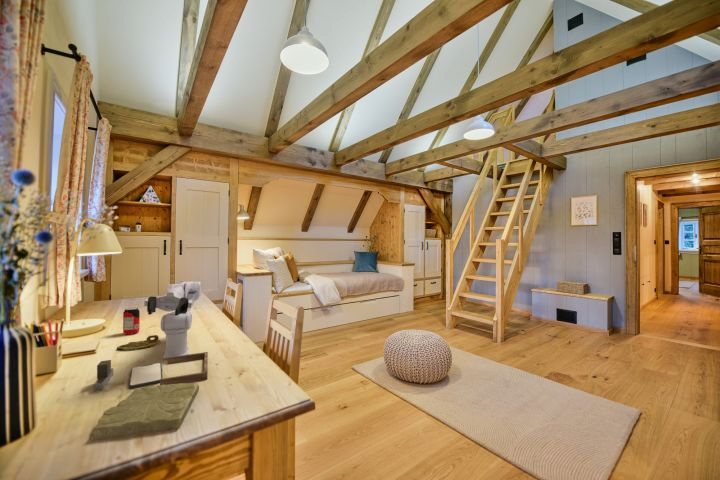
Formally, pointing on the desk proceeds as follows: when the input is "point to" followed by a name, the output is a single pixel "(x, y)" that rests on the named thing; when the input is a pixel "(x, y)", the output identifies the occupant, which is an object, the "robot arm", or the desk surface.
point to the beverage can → (131, 321)
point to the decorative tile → (147, 411)
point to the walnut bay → (191, 376)
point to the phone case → (145, 375)
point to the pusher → (103, 375)
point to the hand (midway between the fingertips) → (163, 312)
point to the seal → (140, 344)
